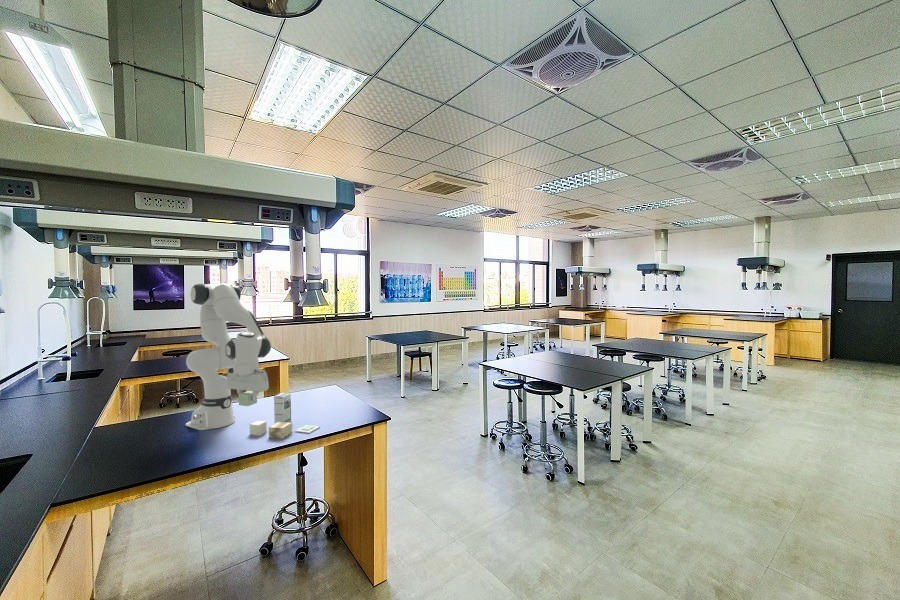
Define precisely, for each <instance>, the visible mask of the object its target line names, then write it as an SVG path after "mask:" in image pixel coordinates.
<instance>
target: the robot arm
mask: <svg viewBox="0 0 900 600" xmlns="http://www.w3.org/2000/svg"><path fill="white" fill-rule="evenodd" d="M190 289H191V290H190V291H189V292H190V293H189V295H190V299H191V301H192V303H194V304H195V305H199V306H200V305H201V307H200V315H199V318H200V319H199V322H200V331H201V338H202V339H203V340H205V341H206V342H208V343H212V344H214V345H215V347H211V348H210V347H209V348H201V349H198V350H193V351H191V352H189V353H188V355H187V356H186V359H185V364H186V366H187V368H188V369H189V370H190V371H191V372H193V373H195V374H197V375H198V376H199V377H200V378H201V380H202V383H203V388H204V397H203V398H202V399H200V402H202V403H201V405H200V406H199V407H198V408H196V409H195V410H193V412H192V413H191V420H190V421H188V422H186V423H185V426H186V427H189V428H191V429H195V430H198V431H208V430H212V429H214V430H215V429H220V428H224V427H227V426H230V425H232V424H234V423H235V422H236V420H235V419H236V417H235V415H234V407H233V404H232V400H233V399H232V398H233V397H232V394H231V392H232V391H231V390H236V393H237V394H238V396H239V394H240V393H244V392H243V391H252V392H253V393H254V394H253V396H252V397H251V401H255V400H257V401H258V395H259V393H262V392H263V393H264V392H266V391H269V388H270V386H269V385H270V384H269V378H268V373H267V371H265V370H263V369H259V368H260V366H259V365H260V363H259V362H260V361H259V358H265V357H266V356H268V354H269V353H270V352H271V349H272V345H271V342H270V340H269V338H268V337H267V336H266V335H265V333H264V331H263V330H262V328H261V326H260V324H259V323H258V321H257V319H256V318H255V316H254V314H253V313H252V311H250V310H249V309H247V308H245V307H244V305H242V303H241V301H240V300H241V294H242V292H241V289H240V287H239V286H237V285H234V284H228V283H197V284H194V285H193V286H192V287H191V288H190ZM227 322H228V323H233V324H238V325H241V326H243V327H245V328H246V329H247V330H248V331H243V332H240V333H237V335H236V337H235V338H234V339H232V338H231V337H230V335H229V332H228V328H227ZM223 369H226V373H227V375H226V376H225V375H223V374H218V370H223Z"/></svg>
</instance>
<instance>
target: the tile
mask: <svg viewBox="0 0 900 600" xmlns="http://www.w3.org/2000/svg"><path fill="white" fill-rule="evenodd" d="M320 428H321V426H319V425H313V424H311V425H310V424H305V425H303V426H302V427H299V428H297V429H295V430H294V432H295V433H300V432H302V434H308V433H310V434H311V433H313V432H315V431H316V430H318V429H320Z"/></svg>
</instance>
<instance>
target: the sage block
mask: <svg viewBox="0 0 900 600" xmlns="http://www.w3.org/2000/svg"><path fill="white" fill-rule="evenodd" d="M253 394H254V393H253V391H248V390H246V391H244V392H243V393H240V394H239V395H238V406H242V407H250V406H253V405H255V404H258V399H257V400H255V401H251V397H252V396H253Z"/></svg>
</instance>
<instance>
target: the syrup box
mask: <svg viewBox="0 0 900 600" xmlns="http://www.w3.org/2000/svg"><path fill="white" fill-rule="evenodd" d="M291 399H292V398H291V393H288V392H281V393H278V394H276V395H274V396H273V410H274V412H273V413H274V415H273V416H274V424H275V423H277V422H291V421H292V403H291V402H292V401H291Z"/></svg>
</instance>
